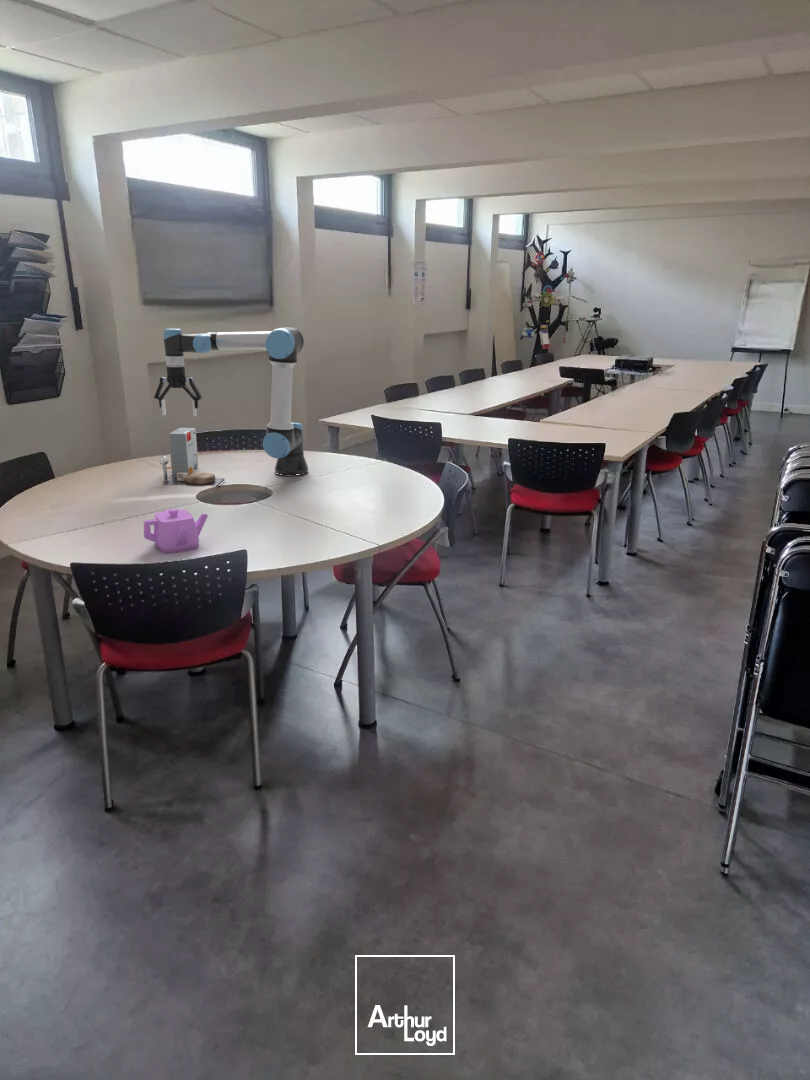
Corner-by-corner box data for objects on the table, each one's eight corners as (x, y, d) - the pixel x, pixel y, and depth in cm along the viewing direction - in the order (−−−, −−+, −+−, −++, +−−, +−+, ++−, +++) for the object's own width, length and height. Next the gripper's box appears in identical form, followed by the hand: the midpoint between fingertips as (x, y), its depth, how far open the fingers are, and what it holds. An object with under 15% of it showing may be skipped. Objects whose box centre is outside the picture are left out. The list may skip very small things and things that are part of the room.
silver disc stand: (161, 482, 299) (159, 457, 296) (161, 481, 301) (159, 456, 298) (174, 481, 301) (171, 456, 297) (174, 480, 303) (171, 455, 299)
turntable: (219, 477, 307) (218, 470, 306) (209, 484, 296) (209, 477, 295) (183, 476, 308) (183, 469, 307) (172, 483, 297) (172, 476, 296)
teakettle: (167, 535, 242) (164, 500, 238) (213, 539, 238) (210, 504, 234) (139, 552, 227) (134, 515, 222) (187, 556, 223) (183, 519, 219)
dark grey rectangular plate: (224, 481, 308) (224, 478, 308) (217, 488, 297) (217, 485, 296) (171, 480, 308) (170, 477, 308) (161, 487, 297) (161, 484, 297)
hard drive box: (189, 478, 312) (184, 434, 305) (171, 478, 312) (167, 433, 305) (199, 470, 326) (195, 427, 320) (183, 469, 327) (178, 427, 320)
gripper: (143, 366, 300) (148, 416, 307) (201, 367, 299) (205, 417, 307) (149, 364, 307) (154, 413, 314) (206, 365, 306) (210, 414, 314)
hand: (179, 415), depth 310 cm, fingers open, 13 cm apart
